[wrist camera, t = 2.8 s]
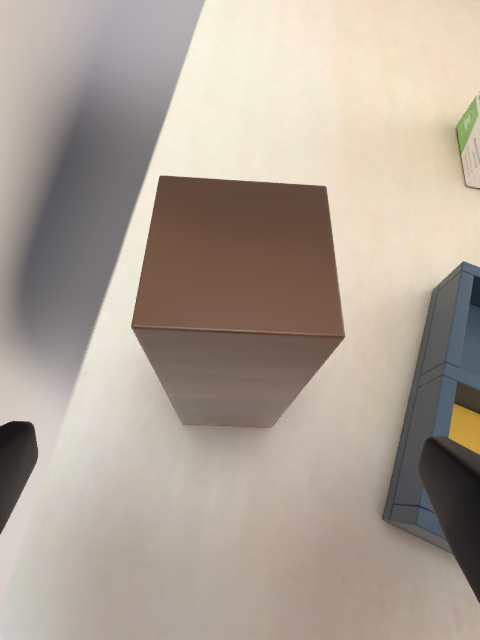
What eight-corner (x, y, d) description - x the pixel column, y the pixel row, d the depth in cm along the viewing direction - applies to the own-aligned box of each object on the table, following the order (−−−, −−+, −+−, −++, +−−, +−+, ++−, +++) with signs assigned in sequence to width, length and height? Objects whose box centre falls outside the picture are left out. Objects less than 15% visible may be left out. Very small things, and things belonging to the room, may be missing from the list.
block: (271, 427, 19) (346, 338, 8) (182, 424, 19) (129, 327, 8) (270, 345, 21) (327, 185, 10) (190, 341, 21) (159, 174, 10)
